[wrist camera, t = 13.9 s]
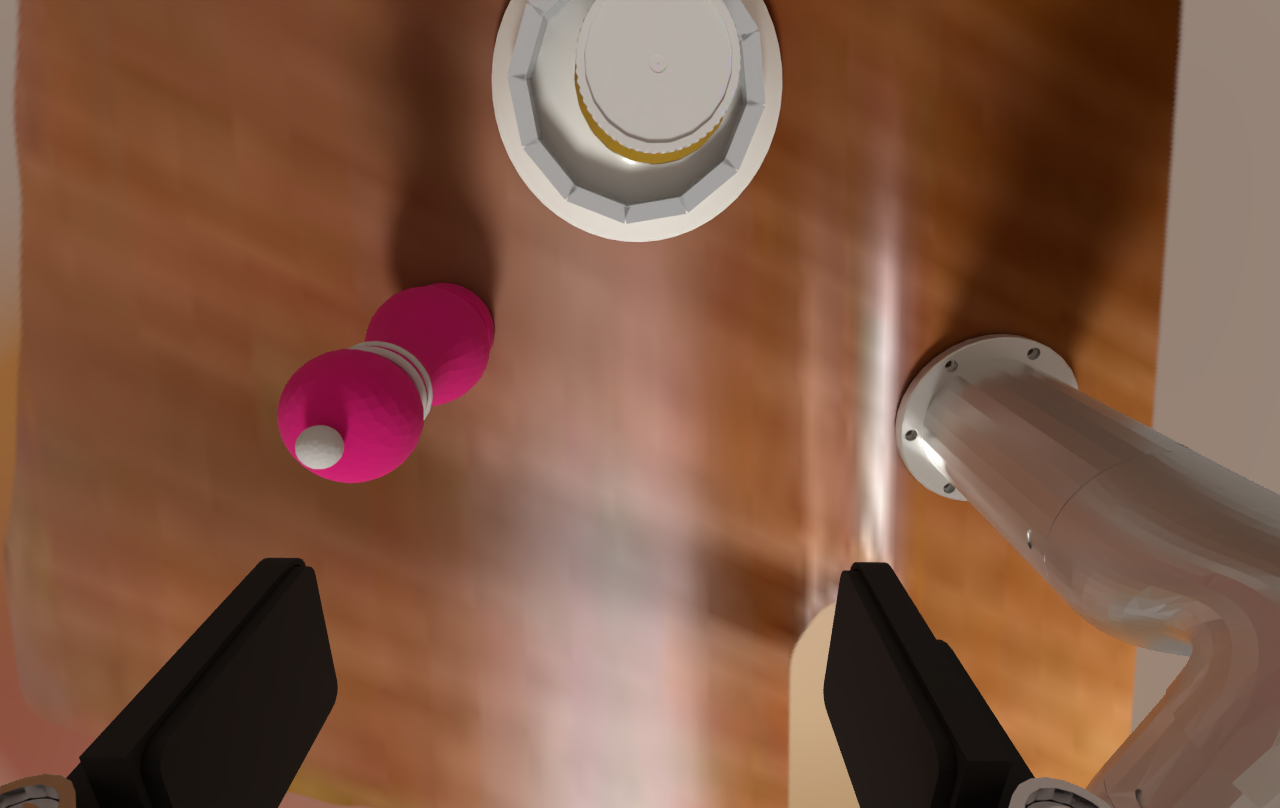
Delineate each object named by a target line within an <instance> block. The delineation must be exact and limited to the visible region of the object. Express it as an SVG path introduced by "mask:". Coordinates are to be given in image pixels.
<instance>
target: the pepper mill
mask: <svg viewBox="0 0 1280 808" xmlns="http://www.w3.org/2000/svg"><path fill="white" fill-rule="evenodd" d="M493 341H494V323H493V319H492V317H491V314H490V312H489V310H488V308H487V306H486V305H485V304H484V302H483V301H482V300H481V299H480V298H479V297H478V296H477V295H476V294H474V293H473V292H472V291H470V290H469V289H467V288H464V287H462V286H459V285H456V284H452V283H434V284H430V285H427V286H422V287H413V288H409V289H406V290H403V291H401V292H399V293H397V294H395V295H393V296H392V297H391V298H389V299H388V300H387V301H386V302H385V303H384V304H383V305H382V306H380V307H379V309H378V310H377V312H376V313H375V314H374V316H373V317H372V319H371V322H370V324H369V327H368V329H367V333H366V338H365V342H363V343H360V344H356V345H354V346H353V347H351V348H349V349H341V350H336V351H331V352H327V353H325V354H322V355H320V356H318V357H316V358H314V359H312V360H310V361H308V362H307V363H306V364H304V365H303V366H302V367H301V368H299V369H298V370H297V371H296V372H295V373H294V374H293V376H292V377H291V378H290V380H289V381H288V383H287V384H286V386H285V388H284V390H283V392H282V395H281V397H280V401H279V405H278V427H279V431H280V434H281V437H282V440H283V442H284V444H285V446H286V447H287V449H288V450H289V452H290V453H291V454H292V456H293V457H294V458H295V459H296V460H297V461H298V462H299V463H300V464H301V465H302V466H304V467H305V468H307V469H308V470H310V471H311V472H313V473H315V474H317V475H319V476H321V477H323V478H326V479H330V480H333V481H337V482H345V483H357V482H365V481H369V480H373V479H376V478H379V477H382V476H384V475H386V474H387V473H389V472H391V471H393V470H394V469H396V468H397V467H398V466H399V465H400V464H402V463H403V462H404V461H405V460H406V459H407V458H408V456H409V455H410V454H411V453H412V451H413V450H414V449H415V447H416V445H417V443H418V441H419V438H420V435H421V432H422V429H423V426H424V419H425V418H426V416H427V415H428V413H429V411H430V408H431V406H435V405H440V404H444V403H447V402H450V401H452V400H454V399H457V398H459V397H460V396H462V395H463V394H465V393H466V392H467V391H468V390H469V389H470V388H472V387H473V386H474V385H475V384H476V383H477V382H478V380H479V379H480V378H481V376H482V375H483V373H484V371H485V369H486V366H487V363H488V359H489V353H490V350H491V347H492V345H493Z"/></svg>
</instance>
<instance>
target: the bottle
mask: <svg viewBox="0 0 1280 808" xmlns="http://www.w3.org/2000/svg"><path fill="white" fill-rule="evenodd" d="M587 13H588V14H587V16H586V18H584V20H583V25H582V28H580V30H579V32H580V35H579V38H577V43H578V45H577V48H576V51H575V52H576V59H575V74H574V81H575V89H576V94H577V99H578V104H579V107H580V110H581V112H582V114H583V116H584V118H585V120H586V122H587V124H588V126H589V128H590V129H591V131H592V132H593V134H594V135H595V136H596V137H597V138H598V139H599V140H600V141H601V142H602V143H603V144H604V145H605V146H606V147H607V148H608V149H609V150H611V151H612V152H614V153H616V154H619V155H621V156H623V157H625V158H627V159H629V160H632V161H633V162H634V161H636V162H638V163H640V162H643V163H645V164H647V163H650V164H652V165H654V164H663V163H668V162H673V161H677V160H680V159H682V158H684V157H686V156H687V155H689V154H691V153H692V152H694V151H696V150H698V149H699V148H700V147H701V146H703V144H704V143H705V142H706V141H707V140H708V139H709V138H710V137H711V136H712V135H713V133H714V132H715V131H716V130H717V129H718V127H719V126H720V124H721V122H722V120H723V117H724V115H725V113H726V111H727V109H728V108H729V107H730V102H731V100H732V99H733V98H734V92H735V90H737V87H738V86H737V82H738V80H739V78H740V76H739V71H740V69H741V65H740V60H741V55H740V44H739V36H738V34H737V31H736V25H735V24H734V22H733V19H732V15H730V13H729V11H728V8H727V6H725V4H724V3H723V1H722V0H594V2H593V5H592V6H591V8H590V9H589V10H588V11H587Z"/></svg>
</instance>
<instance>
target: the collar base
mask: <svg viewBox="0 0 1280 808" xmlns="http://www.w3.org/2000/svg"><path fill="white" fill-rule="evenodd" d="M722 1H723V3H724V4H725V6H727V8H728V11H729V13H730V15H732V19H733V22H734V24H735V25H736V31H737V34H738V36H739V44H740V55H741V60H740V65H741V69H740V71H739V76H740V78H739V80H738V82H737V86H738V87H737V90H735V92H734V98H733V99H732V100H731V102H730V107H729V108H728V109H727V111H726V113H725V115H724V117H723V120H722V122H721V124H720V126H719V127H718V129H717V130H716V131H715V132H714V133H713V135H712V136H711V137H710V138H709V139H708V140H707V141H706V142H705V143H704V144H703V146H701V147H700V148H699V149H698V150H696V151H694V152H692V153H691V154H689V155H687V156H686V157H684V158H682V159H680V160H677V161H673V162H668V163H663V164H654V165H652V164H650V163H647V164H645V163H643V162H640V163H638V162H636V161H634V162H633V161H632V160H629V159H627V158H625V157H623V156H621V155H619V154H616V153H614V152H612V151H611V150H609V149H608V148H607V147H606V146H605V145H604V144H603V143H602V142H601V141H600V140H599V139H598V138H597V137H596V136H595V135H594V134H593V132H592V131H591V129H590V128H589V126H588V124H587V122H586V120H585V118H584V116H583V114H582V112H581V110H580V107H579V104H578V99H577V94H576V89H575V81H574V74H575V59H576V52H575V51H576V48H577V45H578V43H577V38H579V35H580V32H579V30H580V28H582V25H583V20H584V18H586V16H587V14H588V13H587V11H588V10H589V9H590V8H591V6H592V5H593V2H594V0H511V1H510V3H509V5H508V7H507V9H506V11H505V13H504V16H503V19H502V22H501V25H500V28H499V31H498V34H497V39H496V44H495V49H494V54H493V65H492V98H493V104H494V111H495V117H496V121H497V125H498V128H499V132H500V135H501V139H502V141H503V143H504V146H505V148H506V151H507V153H508V155H509V158H510V159H511V161H512V163H513V165H514V167H515V168H516V170H517V172H518V174H519V175H520V177H521V178H522V179H523V181H524V182H525V183H526V185H527V186H528V187H529V189H530V190H531V191H532V192H533V193H534V194H535V195H536V197H537V198H538V199H539V200H540V201H541V202H542V203H543V204H544V205H545V206H547V207H548V208H549V209H550V210H551V211H553V212H554V213H555V214H556V215H557V216H559V217H561V218H562V219H564V220H565V221H567V222H568V223H570V224H572V225H573V226H575V227H578V228H580V229H582V230H584V231H586V232H588V233H591V234H594V235H597V236H600V237H604V238H607V239H613V240H619V241H628V242H646V241H657V240H662V239H666V238H671V237H675V236H678V235H681V234H683V233H686V232H688V231H691V230H693V229H695V228H697V227H699V226H701V225H703V224H704V223H706V222H708V221H710V220H711V219H712V218H714V217H715V216H717V215H718V214H719V213H721V212H722V211H724V210H725V209H726V208H727V207H728V206H729V205H730V204H731V203H732V202H733V201H734V200H735V199H736V198H737V197H738V196H739V195H740V194H741V193H742V191H743V190H744V189H745V188H746V187H747V185H748V184H749V183H750V182H751V180H752V178H753V177H754V175H755V174H756V172H757V171H758V169H759V168H760V166H761V164H762V162H763V160H764V158H765V156H766V154H767V152H768V150H769V147H770V144H771V141H772V138H773V136H774V133H775V130H776V125H777V121H778V117H779V112H780V105H781V96H782V65H781V57H780V49H779V44H778V40H777V36H776V33H775V29H774V25H773V23H772V20H771V18H770V15H769V12H768V10H767V7H766V5H765V3H764V1H763V0H722Z"/></svg>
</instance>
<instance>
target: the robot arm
mask: <svg viewBox="0 0 1280 808" xmlns="http://www.w3.org/2000/svg"><path fill="white" fill-rule="evenodd" d="M948 361H949V363H948V364H947V365H946V363H947V362H948ZM907 431H909V432H908V433H907ZM895 433H896V444H897V447H898V451H899V454H900V457H901V459H902V460H903V462H904V464H905V466H906V467H907V469H908V470H909V471H910V472H911V474H912V475H913V476H914V477H915V478H916V479H917V480H918V481H919V482H920V483H921V484H922V485H924V486H925V487H926V488H927V489H929V490H931V491H933V492H935V493H936V494H938V495H940V496H944V497H947V498H950V499H954V500H962V501H969V502H970V503H971V504H972V505H973V506H974V507H975V508H976V509H977V510H978V512H979V513H980V514H981V515H982V516H983V517H984V518H985V519H986V520H987V521H988V522H989V523H990V524H991V525H992V526H993V527H994V528H995V529H996V530H997V531H998V532H999V533H1000V534H1001V535H1002V536H1003V537H1004V538H1005V539H1006V540H1007V541H1008V542H1009V543H1010V545H1011V546H1012V547H1013V548H1014V549H1015V550H1016V551H1017V552H1018V553H1019V554H1020V555H1021V556H1022V557H1023V558H1024V559H1025V560H1026V561H1027V562H1028V563H1029V564H1030V565H1031V566H1032V567H1033V568H1034V569H1035V570H1036V571H1037V572H1038V573H1039V574H1040V575H1041V576H1042V578H1043V579H1044V580H1045V581H1046V582H1047V583H1048V584H1049V585H1050V586H1051V587H1052V588H1053V589H1054V590H1055V591H1056V592H1057V593H1058V594H1059V595H1060V596H1061V597H1062V598H1063V599H1064V601H1065V602H1066V603H1067V604H1068V605H1069V606H1070V607H1071V608H1072V609H1073V610H1074V611H1075V612H1077V613H1078V614H1079V615H1080V616H1081V617H1082V618H1083V619H1085V620H1086V621H1087V622H1088V623H1090V624H1091V625H1093V626H1094V627H1096V628H1097V629H1099V630H1100V631H1102V632H1104V633H1106V634H1108V635H1110V636H1112V637H1114V638H1116V639H1118V640H1120V641H1123V642H1125V643H1128V644H1131V645H1134V646H1138V647H1141V648H1145V649H1148V650H1153V651H1157V652H1163V653H1170V654H1175V655H1182V656H1190V658H1189V660H1188V662H1187V664H1186V666H1185V667H1184V668H1183V670H1182V671H1181V672H1180V673H1179V675H1178V676H1177V677H1176V679H1175V680H1174V681H1173V682H1172V684H1171V685H1170V686H1169V687H1168V688H1167V691H1166V695H1165V696H1164V697H1163V698H1162V699H1161V700H1160V701H1159V703H1158V704H1157V705H1156V706H1155V707H1154V708H1153V710H1152V711H1151V712H1150V713H1149V714H1148V715H1147V716H1146V718H1145V719H1144V720H1143V721H1142V722H1141V723H1140V724H1139V726H1138V727H1137V728H1136V729H1135V730H1134V731H1133V732H1132V734H1131V735H1130V736H1129V737H1128V738H1127V739H1126V740H1125V742H1124V743H1123V744H1122V745H1121V746H1120V747H1119V748H1118V750H1117V751H1116V752H1115V753H1114V754H1113V755H1112V756H1111V758H1110V759H1109V760H1108V761H1107V762H1106V763H1105V764H1104V766H1103V767H1102V768H1101V769H1100V770H1099V772H1098V773H1097V774H1096V775H1095V776H1094V778H1093V779H1092V780H1091V782H1090V783H1089V784H1088V786H1087V787H1086V789H1084V788H1081V787H1079V786H1076V785H1074V784H1071V783H1069V782H1066V781H1063V780H1058V779H1052V778H1047V777H1044V778H1035V777H1034V776H1033V774H1032V773H1031V771H1030V770H1029V768H1028V766H1027V765H1026V763H1025V762H1024V760H1023V759H1022V757H1021V756H1020V754H1019V752H1018V751H1017V749H1016V748H1015V746H1014V745H1013V743H1012V742H1011V740H1010V739H1009V737H1008V735H1007V734H1006V732H1005V731H1004V729H1003V728H1002V726H1001V725H1000V723H999V721H998V720H997V718H996V717H995V715H994V714H993V712H992V711H991V709H990V707H989V706H988V704H987V703H986V701H985V700H984V698H983V697H982V695H981V694H980V692H979V690H978V689H977V687H976V686H975V684H974V683H973V681H972V680H971V678H970V676H969V675H968V673H967V672H966V670H965V669H964V667H963V666H962V664H961V663H960V661H959V659H958V658H957V656H956V655H955V653H954V652H953V650H952V649H951V648H950V646H949V645H948V644H947V643H946V642H944V641H942V640H936V638H935V637H934V635H933V633H932V632H931V630H930V629H929V627H928V625H927V624H926V622H925V621H924V619H923V617H922V616H921V614H920V613H919V611H918V609H917V608H916V606H915V605H914V603H913V601H912V600H911V598H910V597H909V595H908V593H907V592H906V590H905V589H904V587H903V585H902V584H901V582H900V581H899V579H898V577H897V576H896V574H895V573H894V571H893V569H892V568H891V566H890V565H889V564H888V563H880V562H855V563H853V565H852V566H851V570H850V571H843V572H842V574H841V577H840V583H839V589H838V596H837V602H836V609H835V616H834V622H833V628H832V635H831V642H830V648H829V654H828V661H827V668H826V674H825V680H824V689H823V690H824V702H825V707H826V710H827V713H828V716H829V719H830V722H831V724H832V728H833V730H834V733H835V736H836V739H837V742H838V745H839V748H840V751H841V753H842V756H843V759H844V762H845V765H846V768H847V771H848V774H849V777H850V779H851V782H852V785H853V788H854V791H855V794H856V797H857V800H858V802H859V805H860V808H1280V495H1279V494H1277V493H1275V492H1273V491H1271V490H1269V489H1267V488H1265V487H1263V486H1261V485H1259V484H1257V483H1255V482H1253V481H1251V480H1249V479H1247V478H1245V477H1243V476H1241V475H1239V474H1237V473H1235V472H1233V471H1231V470H1230V469H1228V468H1226V467H1224V466H1222V465H1220V464H1218V463H1216V462H1214V461H1212V460H1210V459H1209V458H1207V457H1205V456H1203V455H1201V454H1199V453H1197V452H1195V451H1193V450H1191V449H1189V448H1188V447H1185V446H1184V445H1182V444H1180V443H1178V442H1176V441H1174V440H1172V439H1170V438H1169V437H1167V436H1165V435H1163V434H1161V433H1159V432H1157V431H1155V430H1153V429H1151V428H1150V427H1148V426H1146V425H1144V424H1142V423H1140V422H1138V421H1136V420H1134V419H1132V418H1131V417H1129V416H1127V415H1125V414H1123V413H1121V412H1119V411H1117V410H1115V409H1113V408H1111V407H1110V406H1108V405H1106V404H1104V403H1102V402H1100V401H1098V400H1096V399H1094V398H1092V397H1091V396H1089V395H1087V394H1085V393H1083V392H1081V391H1079V388H1078V383H1077V381H1076V378H1075V376H1074V374H1073V372H1072V369H1071V368H1070V367H1069V366H1068V364H1067V363H1066V362H1065V360H1064V359H1063V358H1062V357H1061V356H1060V355H1058V354H1057V353H1056V352H1055V351H1053V350H1052V349H1051V348H1049V347H1047V346H1045V345H1043V344H1041V343H1039V342H1037V341H1035V340H1032V339H1029V338H1026V337H1023V336H1018V335H1010V334H993V335H984V336H980V337H976V338H972V339H968V340H966V341H963V342H961V343H959V344H956V345H954V346H952V347H950V348H949V349H947V350H945V351H944V352H942V353H941V354H939V355H938V356H936V357H935V358H934V359H933V360H932V361H930V362H929V363H928V364H927V365H926V366H925V367H924V368H922V370H921V371H920V372H919V373H918V375H917V376H916V377H915V378H914V379H913V381H912V382H911V383H910V385H909V387H908V389H907V391H906V392H905V394H904V396H903V398H902V401H901V404H900V406H899V409H898V412H897V418H896V426H895ZM337 688H338V686H337V679H336V674H335V669H334V664H333V659H332V654H331V649H330V644H329V640H328V635H327V630H326V625H325V620H324V615H323V610H322V605H321V600H320V595H319V590H318V585H317V580H316V575H315V572H314V570H313V568H312V567H309V566H306V565H305V563H304V561H303V560H302V559H300V558H265V559H263V560H262V561H260V562H259V563H258V564H257V565H256V567H255V568H254V569H253V570H252V571H251V572H250V573H249V574H248V575H247V576H246V577H245V578H244V580H243V581H242V582H241V583H240V584H239V585H238V586H237V587H236V588H235V589H234V590H233V591H232V593H231V594H230V595H229V596H228V597H227V598H226V599H225V600H224V601H223V602H222V603H221V604H220V606H219V607H218V608H217V609H216V610H215V611H214V612H213V613H212V614H211V615H210V616H209V617H208V619H207V620H206V621H205V622H204V623H203V624H202V625H201V626H200V627H199V628H198V629H197V630H196V631H195V633H194V634H193V635H192V636H191V637H190V638H189V639H188V640H187V641H186V642H185V643H184V644H183V646H182V647H181V648H180V649H179V650H178V651H177V652H176V653H175V654H174V655H173V656H172V657H171V659H170V660H169V661H168V662H167V663H166V664H165V665H164V666H163V667H162V668H161V669H160V670H159V672H158V673H157V674H156V675H155V676H154V677H153V678H152V679H151V680H150V681H149V682H148V683H147V684H146V686H145V687H144V688H143V689H142V690H141V691H140V692H139V693H138V694H137V695H136V696H135V697H134V699H133V700H132V701H131V702H130V703H129V704H128V705H127V706H126V707H125V708H124V709H123V710H122V712H121V713H120V714H119V715H118V716H117V717H116V718H115V719H114V720H113V721H112V722H111V723H110V725H109V726H108V727H107V728H106V729H105V730H104V731H103V732H102V733H101V734H100V735H99V736H98V738H97V739H96V740H95V741H94V742H93V743H92V744H91V745H90V746H89V747H88V748H87V749H86V751H85V752H84V753H83V754H82V755H81V756H80V757H79V759H80V761H81V762H80V763H79V765H78V766H77V767H76V768H75V769H74V770H73V771H72V772H71V774H69V776H68V777H67V778H65V777H63V776H61V775H51V774H43V775H37V776H31V777H25V778H22V779H19V780H16V781H14V782H11V783H8V784H5V785H2V786H0V808H278V806H279V804H280V803H281V801H282V799H283V797H284V795H285V794H286V792H287V790H288V788H289V786H290V785H291V783H292V781H293V779H294V777H295V775H296V774H297V772H298V770H299V768H300V766H301V764H302V763H303V761H304V759H305V757H306V755H307V754H308V752H309V750H310V748H311V746H312V744H313V743H314V741H315V739H316V737H317V735H318V733H319V732H320V730H321V728H322V726H323V724H324V722H325V721H326V719H327V717H328V715H329V713H330V712H331V710H332V708H333V706H334V703H335V700H336V696H337Z"/></svg>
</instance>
